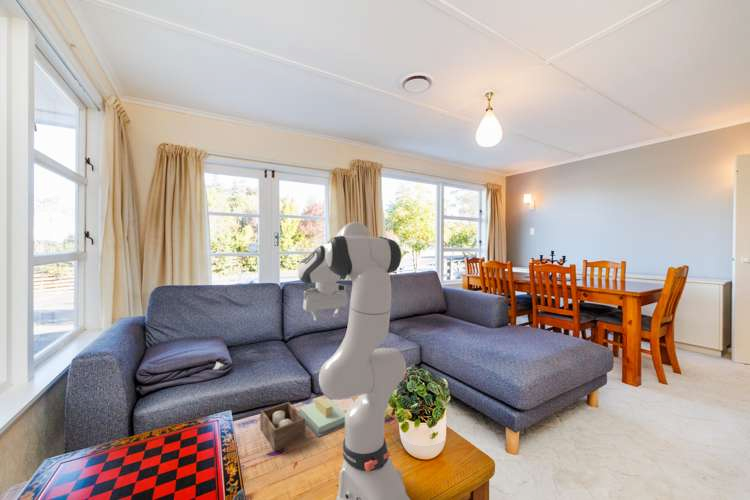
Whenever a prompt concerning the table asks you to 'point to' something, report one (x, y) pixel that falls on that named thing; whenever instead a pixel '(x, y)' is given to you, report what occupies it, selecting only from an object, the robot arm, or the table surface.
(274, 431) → the box
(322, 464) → the table surface
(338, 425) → the mat
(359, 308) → the robot arm
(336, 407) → the lid
